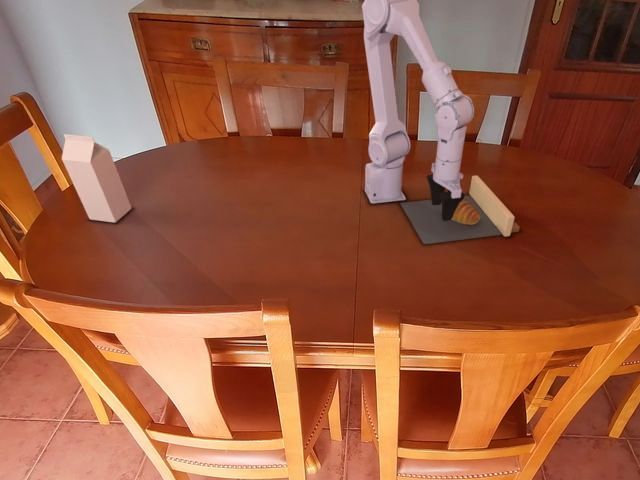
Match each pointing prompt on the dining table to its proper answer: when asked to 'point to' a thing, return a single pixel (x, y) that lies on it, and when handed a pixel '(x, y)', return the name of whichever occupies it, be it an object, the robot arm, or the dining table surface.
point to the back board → (493, 207)
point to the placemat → (445, 223)
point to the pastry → (466, 213)
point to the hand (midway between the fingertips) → (441, 211)
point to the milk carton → (95, 178)
